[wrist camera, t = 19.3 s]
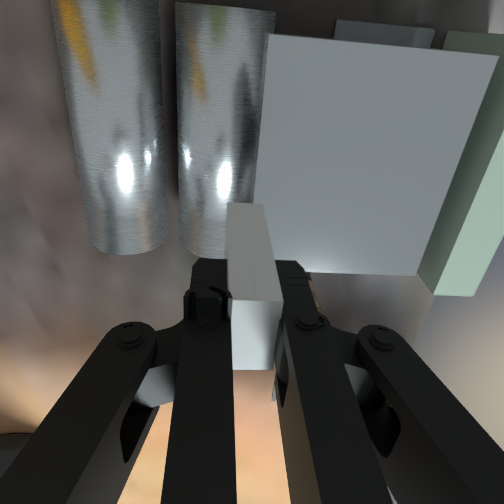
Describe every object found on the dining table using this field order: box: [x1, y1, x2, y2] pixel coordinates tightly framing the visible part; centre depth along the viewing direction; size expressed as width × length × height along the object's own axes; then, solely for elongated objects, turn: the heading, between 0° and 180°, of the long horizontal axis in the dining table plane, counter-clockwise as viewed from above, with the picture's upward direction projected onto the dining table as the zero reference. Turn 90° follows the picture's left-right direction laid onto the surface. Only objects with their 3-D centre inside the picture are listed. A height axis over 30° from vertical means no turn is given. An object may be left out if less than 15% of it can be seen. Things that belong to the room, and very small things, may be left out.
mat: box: [333, 19, 436, 48], centre depth 30 cm, size 7×16×1 cm, turn 175°
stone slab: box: [250, 32, 499, 276], centre depth 24 cm, size 12×14×2 cm
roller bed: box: [50, 0, 276, 259], centre depth 26 cm, size 13×16×6 cm
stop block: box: [417, 30, 504, 296], centre depth 27 cm, size 3×16×10 cm, turn 175°
